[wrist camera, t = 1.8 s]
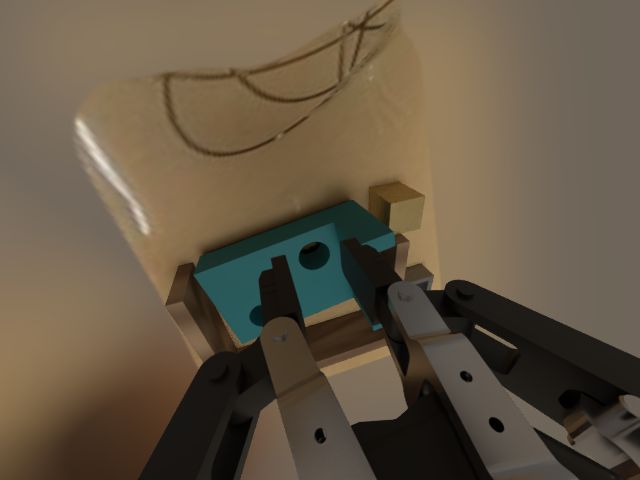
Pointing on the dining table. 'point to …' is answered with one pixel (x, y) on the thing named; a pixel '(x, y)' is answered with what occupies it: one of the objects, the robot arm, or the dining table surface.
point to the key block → (396, 206)
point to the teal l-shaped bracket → (306, 269)
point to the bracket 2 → (324, 338)
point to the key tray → (419, 276)
